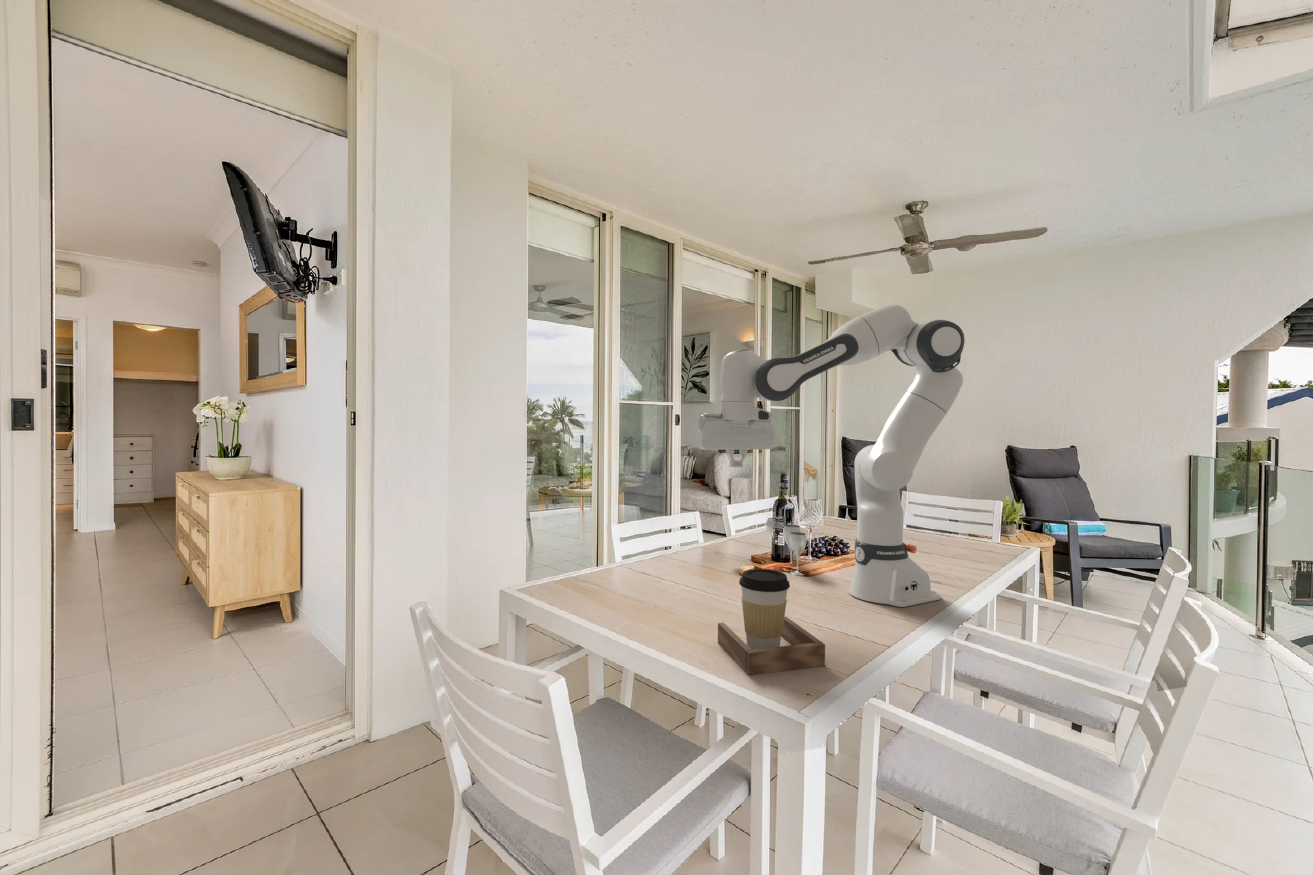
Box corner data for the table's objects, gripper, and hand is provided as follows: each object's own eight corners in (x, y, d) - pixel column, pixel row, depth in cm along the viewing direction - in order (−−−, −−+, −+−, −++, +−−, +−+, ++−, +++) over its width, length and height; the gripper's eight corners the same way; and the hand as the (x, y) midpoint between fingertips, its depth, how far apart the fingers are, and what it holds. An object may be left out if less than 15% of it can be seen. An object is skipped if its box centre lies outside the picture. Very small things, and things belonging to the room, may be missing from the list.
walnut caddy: (785, 635, 116) (786, 616, 116) (824, 665, 102) (825, 644, 102) (717, 642, 112) (718, 622, 112) (748, 675, 98) (748, 652, 98)
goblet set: (809, 575, 161) (810, 530, 160) (790, 575, 160) (791, 530, 160) (779, 552, 189) (780, 513, 188) (763, 552, 188) (764, 513, 188)
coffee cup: (775, 637, 115) (776, 566, 114) (797, 657, 105) (799, 580, 105) (730, 641, 113) (731, 569, 112) (749, 662, 103) (751, 583, 102)
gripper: (703, 413, 136) (702, 468, 136) (778, 413, 141) (777, 467, 142) (694, 413, 142) (694, 466, 142) (767, 414, 147) (766, 465, 148)
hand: (736, 467), depth 142 cm, fingers closed
